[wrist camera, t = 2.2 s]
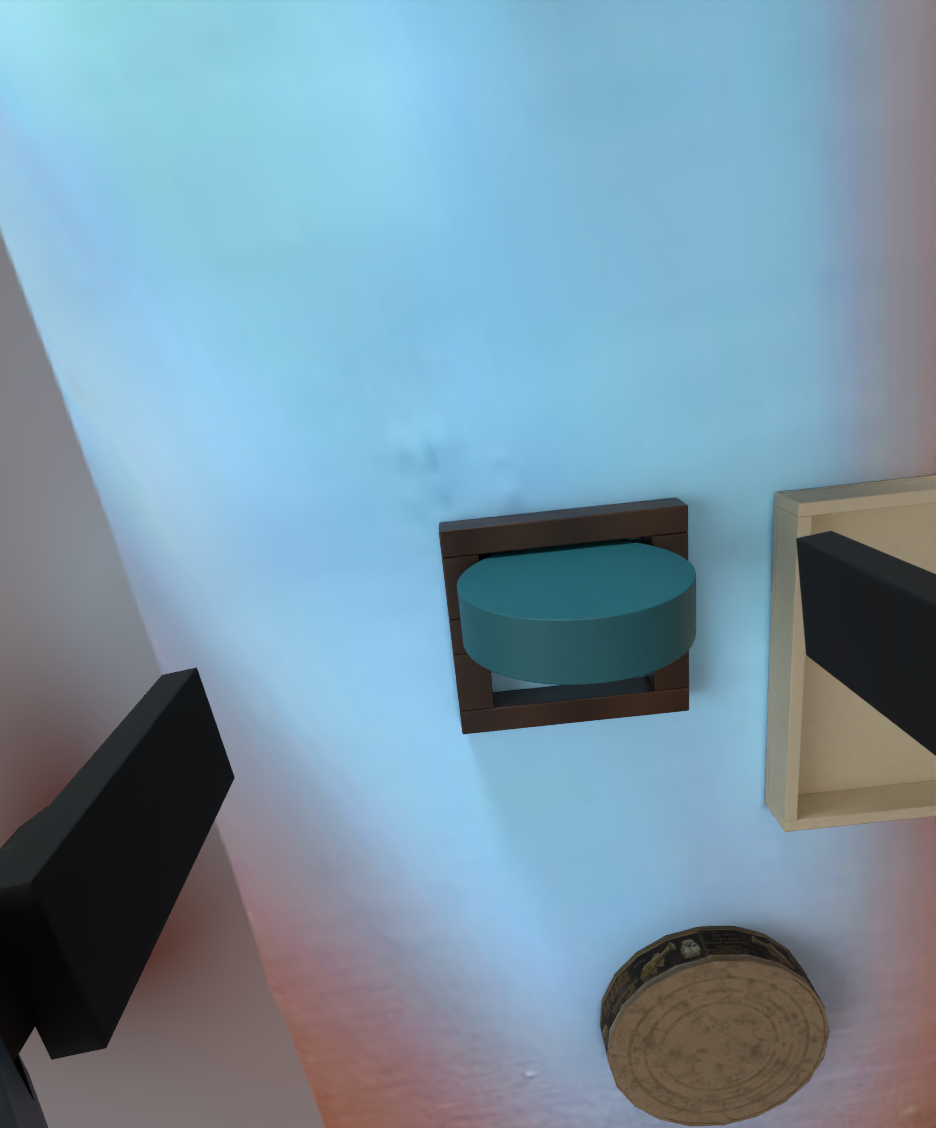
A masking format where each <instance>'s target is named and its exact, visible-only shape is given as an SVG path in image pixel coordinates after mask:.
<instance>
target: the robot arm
mask: <svg viewBox="0 0 936 1128" xmlns="http://www.w3.org/2000/svg"><path fill="white" fill-rule="evenodd" d="M796 543H797V555H798V566H799V578H800V590H801V602H802V613H803V625H804V637H805V649H806V656H808V657H809V658H810V659H812V660H813V661H814V662H815V663H817V664H818V665H819V666H821V667H822V668H823V669H824V670H826V671H827V672H828V673H830V674H831V675H832V676H833V677H835V678H836V679H837V680H839V681H840V682H841V683H842V684H844V685H845V686H846V687H848V688H849V689H850V690H851V691H853V692H854V693H855V694H857V695H858V696H859V697H860V698H862V699H863V700H864V701H866V702H867V703H868V704H869V705H871V706H872V707H873V708H875V709H876V710H877V711H878V712H880V713H881V714H882V715H884V716H885V717H886V718H888V719H889V720H890V721H891V722H893V723H894V724H895V725H897V726H898V727H899V728H900V729H902V730H903V731H904V732H906V733H907V734H908V735H909V736H911V737H912V738H913V739H915V740H916V741H917V742H918V743H920V744H921V745H922V746H924V747H925V748H926V749H927V750H929V751H930V752H931V753H933V754H934V755H935V756H936V574H934V573H932V572H929V571H927V570H925V569H922V568H920V567H917V566H915V565H913V564H910V563H908V562H905V561H903V560H901V559H898V558H896V557H893V556H891V555H889V554H886V553H884V552H881V551H879V550H877V549H874V548H872V547H869V546H867V545H865V544H862V543H860V542H857V541H855V540H853V539H850V538H848V537H845V536H843V535H841V534H838V533H836V532H833V531H827V532H823V533H818V534H813V535H809V536H804V537H799V538H796ZM234 778H235V777H234V774H233V771H232V769H231V766H230V763H229V760H228V757H227V754H226V751H225V748H224V745H223V742H222V739H221V737H220V734H219V731H218V728H217V725H216V722H215V719H214V716H213V713H212V710H211V707H210V704H209V702H208V699H207V696H206V693H205V690H204V687H203V684H202V681H201V678H200V675H199V672H198V670H197V668H193V669H188V670H183V671H179V672H174V673H169V674H165V675H162V676H161V677H160V678H159V679H158V681H157V682H156V683H155V684H154V685H153V686H152V687H151V689H150V690H149V691H148V692H147V693H146V695H144V697H143V698H142V699H141V700H140V701H139V702H138V704H137V705H136V706H135V707H134V709H132V711H131V712H130V713H129V714H128V715H127V716H126V718H125V719H124V720H123V721H122V722H121V723H120V725H119V726H118V727H117V728H116V729H115V730H114V731H113V732H112V734H111V735H110V736H109V737H108V738H107V739H106V741H105V742H104V743H103V744H102V745H101V746H100V748H99V749H98V750H97V751H96V752H95V753H94V754H93V756H92V757H91V758H90V759H89V760H88V761H87V763H86V764H85V765H84V766H83V767H82V768H81V769H80V771H79V772H78V773H77V774H76V775H75V777H74V778H73V779H72V780H71V781H70V782H69V783H68V784H67V786H66V787H65V788H64V789H63V790H62V791H61V793H60V794H59V795H58V796H57V797H56V798H55V800H54V801H53V802H52V803H51V804H50V805H49V806H48V807H46V808H45V809H43V810H42V811H41V812H39V813H38V814H37V815H36V816H34V817H33V818H31V819H30V820H29V821H27V822H26V823H25V824H23V825H22V826H21V827H19V828H18V830H16V832H15V833H14V834H13V835H12V836H11V837H10V838H9V839H8V841H7V842H6V843H5V844H4V845H3V846H2V847H1V848H0V1128H48V1126H47V1123H46V1120H45V1117H44V1114H43V1112H42V1109H41V1106H40V1103H39V1101H38V1098H37V1095H36V1092H35V1090H34V1087H33V1084H32V1081H31V1079H30V1076H29V1073H28V1071H27V1069H26V1067H25V1065H24V1063H23V1061H22V1059H21V1058H20V1055H19V1052H20V1050H21V1049H22V1047H23V1046H24V1044H25V1042H26V1041H27V1039H28V1037H29V1036H30V1034H31V1032H32V1031H33V1029H34V1027H36V1029H37V1031H38V1033H39V1035H40V1037H41V1039H42V1041H43V1043H44V1045H45V1047H46V1049H47V1051H48V1053H49V1055H50V1058H51V1059H56V1058H61V1057H66V1056H70V1055H75V1054H80V1053H85V1052H90V1051H94V1050H99V1049H104V1048H106V1047H107V1045H108V1043H109V1041H110V1039H111V1037H112V1035H113V1032H114V1030H115V1028H116V1026H117V1024H118V1022H119V1020H120V1018H121V1016H122V1014H123V1011H124V1009H125V1007H126V1005H127V1003H128V1001H129V999H130V996H131V995H132V993H133V990H134V988H135V986H136V984H137V982H138V980H139V978H140V976H141V973H142V971H143V969H144V967H145V965H146V963H147V961H148V959H149V957H150V955H151V952H152V950H153V948H154V946H155V944H156V942H157V940H158V938H159V935H160V934H161V932H162V929H163V927H164V925H165V923H166V921H167V919H168V917H169V914H170V913H171V910H172V908H173V906H174V904H175V902H176V900H177V898H178V896H179V894H180V891H181V889H182V887H183V885H184V883H185V881H186V879H187V877H188V875H189V872H190V870H191V868H192V866H193V864H194V862H195V860H196V858H197V856H198V854H199V851H200V849H201V847H202V845H203V843H204V841H205V839H206V836H207V835H208V833H209V831H210V828H211V826H212V824H213V822H214V820H215V818H216V816H217V814H218V812H219V810H220V807H221V805H222V803H223V801H224V799H225V797H226V795H227V793H228V791H229V788H230V786H231V784H232V782H233V780H234Z"/></svg>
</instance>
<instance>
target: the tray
mask: <svg viewBox="0 0 936 1128" xmlns="http://www.w3.org/2000/svg"><path fill="white" fill-rule="evenodd" d="M827 531H833V532H836V533H838V534H841V535H843V536H845V537H848V538H850V539H853V540H855V541H857V542H860V543H862V544H865V545H867V546H869V547H872V548H874V549H877V550H879V551H881V552H884V553H886V554H889V555H891V556H893V557H896V558H898V559H901V560H903V561H905V562H908V563H910V564H913V565H915V566H917V567H920V568H922V569H925V570H927V571H929V572H932V573H934V574H936V475H933V476H923V477H914V478H904V479H895V480H885V481H876V482H866V483H857V484H847V485H838V486H829V487H819V488H810V489H800V490H791V491H781V492H775V506H774V537H773V567H772V598H771V628H770V658H769V689H768V719H767V750H766V780H765V804H766V806H767V807H768V808H769V810H770V811H771V813H772V814H773V816H774V817H775V819H776V820H777V822H778V823H779V824H780V826H781V827H782V829H783V830H784V832H788V831H797V830H807V829H816V828H826V827H835V826H845V825H854V824H864V823H873V822H883V821H892V820H901V819H911V818H920V817H930V816H936V756H935V755H934V754H933V753H931V752H930V751H929V750H927V749H926V748H925V747H924V746H922V745H921V744H920V743H918V742H917V741H916V740H915V739H913V738H912V737H911V736H909V735H908V734H907V733H906V732H904V731H903V730H902V729H900V728H899V727H898V726H897V725H895V724H894V723H893V722H891V721H890V720H889V719H888V718H886V717H885V716H884V715H882V714H881V713H880V712H878V711H877V710H876V709H875V708H873V707H872V706H871V705H869V704H868V703H867V702H866V701H864V700H863V699H862V698H860V697H859V696H858V695H857V694H855V693H854V692H853V691H851V690H850V689H849V688H848V687H846V686H845V685H844V684H842V683H841V682H840V681H839V680H837V679H836V678H835V677H833V676H832V675H831V674H830V673H828V672H827V671H826V670H824V669H823V668H822V667H821V666H819V665H818V664H817V663H815V662H814V661H813V660H812V659H810V658H809V657H808V656H806V649H805V637H804V625H803V613H802V602H801V590H800V578H799V566H798V555H797V543H796V538H799V537H804V536H809V535H813V534H818V533H823V532H827Z"/></svg>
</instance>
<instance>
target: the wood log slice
mask: <svg viewBox="0 0 936 1128" xmlns="http://www.w3.org/2000/svg"><path fill="white" fill-rule="evenodd" d="M600 1027H601V1031H602V1036H603V1040H604V1045H605V1049H606V1053H607V1058H608V1062H609V1065H610V1068H611V1071H612V1074H613V1077H614V1080H615V1083H616V1086H617V1087H618V1089H619V1090H620V1091H621V1092H622V1093H623V1094H624V1095H625V1096H626V1097H627V1098H628V1099H629V1101H630V1102H631V1103H632V1104H633V1105H634V1106H635V1107H637V1108H639V1109H641V1110H643V1111H645V1112H646V1113H648V1114H650V1115H652V1116H654V1117H656V1118H658V1119H660V1120H664V1121H668V1122H673V1123H678V1124H683V1125H687V1126H713V1125H726V1124H730V1123H734V1122H738V1121H742V1120H746V1119H750V1118H754V1117H757V1116H759V1115H761V1114H763V1113H765V1112H766V1111H768V1110H770V1109H772V1108H774V1107H776V1106H778V1105H780V1104H782V1103H784V1102H786V1101H787V1100H788V1099H789V1098H790V1097H791V1096H793V1095H794V1094H795V1093H796V1092H797V1091H798V1090H800V1089H801V1088H802V1087H803V1086H804V1085H805V1084H806V1083H808V1082H809V1080H810V1079H811V1077H812V1076H813V1074H814V1072H815V1071H816V1069H817V1068H818V1066H819V1065H820V1063H821V1061H822V1060H823V1058H824V1055H825V1051H826V1046H827V1041H828V1037H829V1032H830V1031H829V1026H828V1022H827V1017H826V1012H825V1007H824V1005H823V1003H822V1002H821V1000H820V998H819V996H818V994H817V993H816V991H815V989H814V987H813V986H812V984H811V982H810V980H809V979H808V977H807V975H806V973H805V972H804V970H803V969H802V967H801V966H800V964H799V963H798V962H797V960H796V959H795V958H794V956H793V955H792V954H791V952H790V951H789V950H788V949H787V948H785V947H784V946H782V945H781V944H779V943H777V942H776V941H774V940H773V939H771V938H769V937H768V936H766V935H765V934H761V933H758V932H754V931H750V930H746V929H742V928H738V927H734V926H724V927H697V928H694V929H690V930H686V931H683V932H679V933H675V934H672V935H668V936H665V937H663V938H661V939H660V940H658V941H656V942H654V943H653V944H651V945H649V946H647V947H645V948H644V949H642V950H640V951H638V952H637V953H636V954H635V955H634V956H633V957H632V958H631V959H630V960H629V961H628V962H627V963H626V964H625V965H624V966H623V967H622V968H621V969H620V970H619V971H618V972H617V973H616V974H615V975H614V977H613V979H612V981H611V983H610V985H609V987H608V989H607V991H606V993H605V995H604V997H603V999H602V1007H601V1018H600Z"/></svg>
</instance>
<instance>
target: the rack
mask: <svg viewBox="0 0 936 1128" xmlns="http://www.w3.org/2000/svg"><path fill="white" fill-rule="evenodd" d="M687 532H688V505H686V504H685V503H684V502H682V501H681V500H679V499H678V498H669V499H659V500H650V501H640V502H631V503H622V504H612V505H603V506H593V507H584V508H574V509H565V510H555V511H546V512H536V513H527V514H517V515H508V516H498V517H489V518H479V519H470V520H460V521H451V522H442V523H439V537H440V546H441V554H442V563H443V572H444V580H445V589H446V597H447V606H448V614H449V623H450V632H451V640H452V649H453V657H454V666H455V674H456V683H457V691H458V700H459V708H460V717H461V726H462V733H463V734H470V733H480V732H489V731H498V730H508V729H517V728H527V727H536V726H546V725H555V724H565V723H574V722H584V721H593V720H602V719H612V718H621V717H631V716H640V715H650V714H659V713H669V712H678V711H688V710H689V650H688V651H687V652H686V653H685V654H684V655H683V656H681V657H680V658H679V659H677V660H676V661H674V662H672V663H671V664H669V665H667V666H665V667H663V668H660V669H658V670H656V671H653V672H650V673H647V674H646V676H647V677H639V678H629V679H624V680H619V681H613V682H606V683H597V684H582V685H563V686H554V687H544V688H535V689H525V690H516V691H506V692H497V693H493V691H492V681H491V671H490V670H488V669H486V668H484V667H483V666H481V665H479V664H478V663H477V662H475V661H474V660H473V659H472V658H471V657H470V656H469V655H468V653H467V652H466V650H465V648H464V645H463V636H462V627H461V618H460V609H459V600H458V591H457V583H458V579H459V578H460V576H461V575H462V574H463V573H464V572H465V571H466V570H467V569H468V568H469V567H471V566H472V565H474V564H476V563H477V562H479V554H485V553H495V552H504V551H514V550H523V549H533V548H542V547H552V546H561V545H571V544H580V543H590V542H599V541H609V540H618V539H627V538H637V537H643V544H646V545H651V546H655V547H659V548H663V549H666V550H669V551H671V552H674V553H676V554H678V555H680V556H682V557H683V558H685V559H686V560H687V561H688V533H687Z"/></svg>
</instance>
